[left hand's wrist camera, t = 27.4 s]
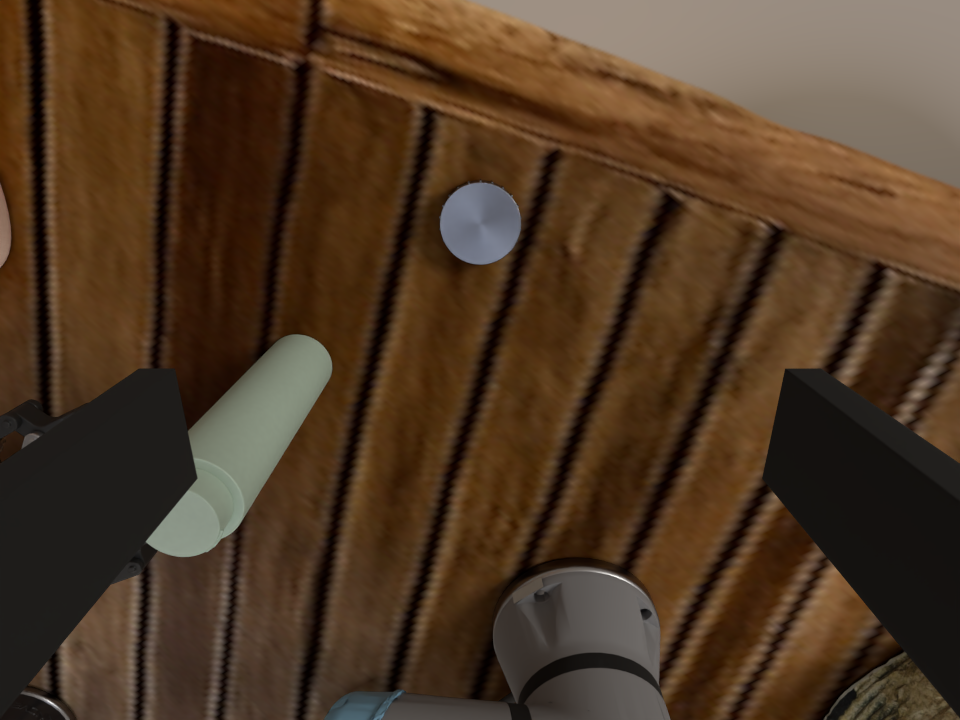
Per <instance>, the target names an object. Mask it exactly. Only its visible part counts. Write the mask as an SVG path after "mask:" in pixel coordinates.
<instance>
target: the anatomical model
mask: <svg viewBox="0 0 960 720" xmlns="http://www.w3.org/2000/svg"><path fill="white" fill-rule="evenodd" d="M10 246H11V225H10V219H9V213H8V208H7V204H6V200H5V197H4V193H3V190H2V187H1V184H0V268H1V266H2V265H3V264H4V262H5V261H6V259H7V257H8V255H9V251H10Z"/></svg>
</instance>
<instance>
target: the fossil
mask: <svg viewBox="0 0 960 720" xmlns="http://www.w3.org/2000/svg"><path fill="white" fill-rule="evenodd" d="M824 720H960V718H959V717H958V716H957V714H956V713H955V712H954V711H953V710H952V708H951V707H950V706H949V705H948V703H947V702H946V701H945V700H944V699H943V697H942V696H941V695H940V694H939V693H938V691H937V690H936V689H935V688H934V686H933V685H932V684H931V683H930V682H929V680H928V679H927V678H926V677H925V676H924V674H923V673H922V672H921V671H920V669H919V668H918V667H917V666H916V665H915V663H914V662H913V661H912V660H911V659H910V657H909V656H908V655H907V654H906V652H903V653H902V654H900V655H898V656H896V657H894V658H892V659H890V660H889V661H888V662H887V663H886V664H885V665H883V666H881V667H878V668H876V669H874V670H873V671H871V672H870V673H869V674H867V675H866V676H864V677H863V678H862V679H860V680H859V681H857V682H856V683H855V684H853V685H852V686H851V687H850V688H849V689H848V690H846V691H845V692H844V693H843V694H842V695H841V696H840V697H839V698H838V700H837V701H836V703H835V704H834V705H833V706H832V708H831V710H830V712H829V713H828V714H827V715H826V716H825V718H824Z"/></svg>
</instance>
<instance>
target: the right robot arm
mask: <svg viewBox="0 0 960 720" xmlns="http://www.w3.org/2000/svg"><path fill="white" fill-rule="evenodd" d="M87 404H88V403H86V404H84V405H82V406H80V407H78V408H76V409H74V410H71V411H69V412H67V413H65V414H63V415H61V416H59V417H51V416H48V415H47V414H45V413H44V412H43V407H42V405H41V404H40V403H39V402H38V401H36V400H28V401H26V402H24V403H23V404H21V405H19V406H18V407H16V408H14V409H13V410H11V411H9V412H7V413H5V414H4V415H2V416H0V452H1V451H2V450H3V444H4V443H5V442H6V440H5V438H3V437H4V436H6V435H8V434H10V433H11V432H13V431H17V432H18V433H20V434H21V435H23V436H24V437H25V438H24V441H23V445H22V448H24V447H25V446H27V445H28V444H30V443H31V442H33V441H34V440H36V439H37V438H38V437H40V436H41V435H43V434H44V433H46V432H47V431H49V430H50V429H52V428H53V427H55V426H56V425H57V424H59V423H60V422H62V421H63V420H65V419H66V418H68V417H69V416H71V415H72V414H74V413H75V412H76V411H78V410H79V409H81V408H82V407H84V406H85V405H87ZM0 463H2V462H1V460H0ZM157 551H158V550H156V549H155V548H153V547H152V546H150V545H149V544H148V543H147V542H145V543H144V544H143V546H142V547H141V548H140V549H139V550H138V552H137V553H136V554H135V555H134V556H133V558H132V559H131V560H130V561H129V563H128V564H127V565H126V566H125V567H124V569H123V570H122V571H121V572H120V573H119V575H118V576H117V577H116V578H115V580H114V581H113V582H112V583H111V584H114V583H116V582H119V581H122V580H125V579H128V578H131V577H133V576H136V575H139V574H140V573H141V572H142V570H143V569H144V568H145V566H146V565H147V564H148V563H149V561H150V560H151V559H152V557H153V556H154V555H155V554H156V552H157ZM111 584H110V585H111ZM0 720H75V718H74V716H73V714H72V712H71V711H70V709H69V708H68V707H67V706H66V705H65V704H64V703H63V702H61V701H60V700H59V699H57V698H56V697H54V696H53V695H51V694H49V693H47V692H44V691H42V690H39V689H36V688H32V687H26V688H25V689H24V690H23V691H22V693H21V694H20V695H19V696H18V697H17V699H16V700H15V701H14V702H13V703H12V705H11V706H10V707H9V708H8V710H7V711H6V712H5V713H4V714H3V716H2V717H1V718H0Z"/></svg>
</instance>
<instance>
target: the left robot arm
mask: <svg viewBox="0 0 960 720" xmlns="http://www.w3.org/2000/svg"><path fill="white" fill-rule="evenodd" d="M197 479H198V478H197V473H196V468H195V463H194V459H193V454H192V449H191V444H190V439H189V435H188V430H187V425H186V420H185V416H184V411H183V406H182V401H181V396H180V392H179V387H178V382H177V377H176V373H175V369H138V370H136V371H135V372H134V373H132V374H131V375H129V376H128V377H126V378H125V379H123V380H122V381H120V382H119V383H117V384H116V385H115V386H113V387H112V388H110V389H109V390H107V391H106V392H104V393H103V394H101V395H100V396H98V397H97V398H95V399H94V400H93V401H91V402H90V403H88V404H87V405H85V406H84V407H82V408H81V409H79V410H78V411H76V412H75V413H74V414H72V415H71V416H69V417H68V418H66V419H65V420H63V421H62V422H60V423H59V424H57V425H56V426H55V427H53V428H52V429H50V430H49V431H47V432H46V433H44V434H43V435H41V436H40V437H38V438H37V439H36V440H34V441H33V442H31V443H30V444H28V445H27V446H25V447H24V448H22V449H21V450H19V451H18V452H17V453H15V454H14V455H12V456H11V457H9V458H8V459H6V460H5V461H3V462H2V463H0V718H1V717H2V716H3V714H4V713H5V712H6V711H7V710H8V708H9V707H10V706H11V705H12V703H13V702H14V701H15V700H16V699H17V697H18V696H19V695H20V694H21V693H22V691H23V690H24V689H25V688H26V686H27V685H28V684H29V683H30V682H31V680H32V679H33V678H34V677H35V676H36V674H37V673H38V672H39V671H40V669H41V668H42V667H43V666H44V665H45V663H46V662H47V661H48V660H49V659H50V657H51V656H52V655H53V654H54V652H55V651H56V650H57V649H58V648H59V646H60V645H61V644H62V643H63V642H64V640H65V639H66V638H67V637H68V635H69V634H70V633H71V632H72V631H73V629H74V628H75V627H76V626H77V625H78V623H79V622H80V621H81V620H82V618H83V617H84V616H85V615H86V614H87V612H88V611H89V610H90V609H91V607H92V606H93V605H94V604H95V603H96V601H97V600H98V599H99V598H100V597H101V595H102V594H103V593H104V592H105V590H106V589H107V588H108V587H109V586H110V584H111V583H112V582H113V581H114V580H115V578H116V577H117V576H118V575H119V573H120V572H121V571H122V570H123V569H124V567H125V566H126V565H127V564H128V563H129V561H130V560H131V559H132V558H133V556H134V555H135V554H136V553H137V552H138V550H139V549H140V548H141V547H142V546H143V544H144V543H145V542H146V541H147V539H148V538H149V537H150V536H151V535H152V533H153V532H154V531H155V530H156V529H157V527H158V526H159V525H160V524H161V522H162V521H163V520H164V519H165V518H166V516H167V515H168V514H169V513H170V512H171V510H172V509H173V508H174V507H175V505H176V504H177V503H178V502H179V501H180V499H181V498H182V497H183V496H184V495H185V493H186V492H187V491H188V490H189V488H190V487H191V486H192V485H193V484H194V482H195V481H196V480H197ZM762 479H763V480H764V481H765V482H766V484H767V485H768V486H769V487H770V488H771V490H772V491H773V492H774V493H775V495H776V496H777V497H778V498H779V499H780V501H781V502H782V503H783V504H784V505H785V507H786V508H787V509H788V510H789V512H790V513H791V514H792V515H793V516H794V518H795V519H796V520H797V521H798V522H799V524H800V525H801V526H802V527H803V529H804V530H805V531H806V532H807V533H808V535H809V536H810V537H811V538H812V539H813V541H814V542H815V543H816V544H817V546H818V547H819V548H820V549H821V550H822V552H823V553H824V554H825V555H826V556H827V558H828V559H829V560H830V561H831V563H832V564H833V565H834V566H835V567H836V569H837V570H838V571H839V572H840V573H841V575H842V576H843V577H844V578H845V580H846V581H847V582H848V583H849V584H850V586H851V587H852V588H853V589H854V590H855V592H856V593H857V594H858V595H859V597H860V598H861V599H862V600H863V601H864V603H865V604H866V605H867V606H868V607H869V609H870V610H871V611H872V612H873V614H874V615H875V616H876V617H877V618H878V620H879V621H880V622H881V623H882V625H883V626H884V627H885V628H886V629H887V631H888V632H889V633H890V634H891V635H892V637H893V638H894V639H895V640H896V642H897V643H898V644H899V645H900V646H901V648H902V649H903V650H904V651H905V652H906V654H907V655H908V656H909V657H910V659H911V660H912V661H913V662H914V663H915V665H916V666H917V667H918V668H919V669H920V671H921V672H922V673H923V674H924V676H925V677H926V678H927V679H928V680H929V682H930V683H931V684H932V685H933V686H934V688H935V689H936V690H937V691H938V693H939V694H940V695H941V696H942V697H943V699H944V700H945V701H946V702H947V703H948V705H949V706H950V707H951V708H952V710H953V711H954V712H955V713H956V714H957V716H958V717H959V718H960V463H958V462H957V461H955V460H954V459H952V458H951V457H949V456H948V455H946V454H945V453H943V452H942V451H941V450H939V449H938V448H936V447H935V446H933V445H932V444H930V443H929V442H927V441H926V440H924V439H923V438H922V437H920V436H919V435H917V434H916V433H914V432H913V431H911V430H910V429H908V428H907V427H905V426H904V425H903V424H901V423H900V422H898V421H897V420H895V419H894V418H892V417H891V416H889V415H888V414H886V413H885V412H884V411H882V410H881V409H879V408H878V407H876V406H875V405H873V404H872V403H870V402H869V401H867V400H866V399H865V398H863V397H862V396H860V395H859V394H857V393H856V392H854V391H853V390H851V389H850V388H848V387H847V386H845V385H844V384H843V383H841V382H840V381H838V380H837V379H835V378H834V377H832V376H831V375H829V374H828V373H826V372H825V371H824V370H822V369H785V373H784V377H783V382H782V387H781V392H780V396H779V401H778V406H777V411H776V416H775V420H774V425H773V430H772V435H771V439H770V444H769V449H768V454H767V459H766V463H765V468H764V473H763V478H762ZM493 643H494V649H495V652H496V655H497V658H498V661H499V663H500V665H501V668H502V670H503V673H504V675H505V677H506V680H507V682H508V684H509V687H510V689H511V691H512V692H511V693H509V694H508V695H507V696H505V697H504V698H502V699H501V700H500V701H498V702H497V701H486V700H474V699H463V698H451V697H440V696H431V695H422V694H413V693H406V691H404V690H396V691H394V692H368V691H355V692H351V693H349V694H346V695H344V696H343V697H341V698H340V699H339V700H338V701H337V702H336V703H335V704H334V705H333V706H332V707H331V709H330V710H329V712H328V713H327V715H326V717H325V718H324V720H670V717H669V714H668V711H667V708H666V705H665V702H664V699H663V696H662V693H661V690H660V687H659V659H660V623H659V618H658V615H657V612H656V609H655V606H654V604H653V601H652V599H651V596H650V594H649V592H648V591H647V589H646V588H645V586H644V585H643V584H642V583H641V582H640V581H639V580H638V579H637V578H636V577H635V576H634V575H633V574H631V573H630V572H628V571H627V570H625V569H623V568H621V567H619V566H617V565H614V564H612V563H609V562H606V561H601V560H597V559H590V558H568V559H561V560H555V561H552V562H548V563H545V564H542V565H539V566H537V567H535V568H533V569H531V570H529V571H527V572H525V573H524V574H522V575H521V576H519V577H518V578H517V579H516V580H514V581H513V582H512V583H511V584H510V585H509V586H508V587H507V589H506V590H505V591H504V592H503V594H502V595H501V597H500V599H499V601H498V602H497V605H496V608H495V611H494V615H493ZM515 702H516V703H517V704H516V703H515Z"/></svg>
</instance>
